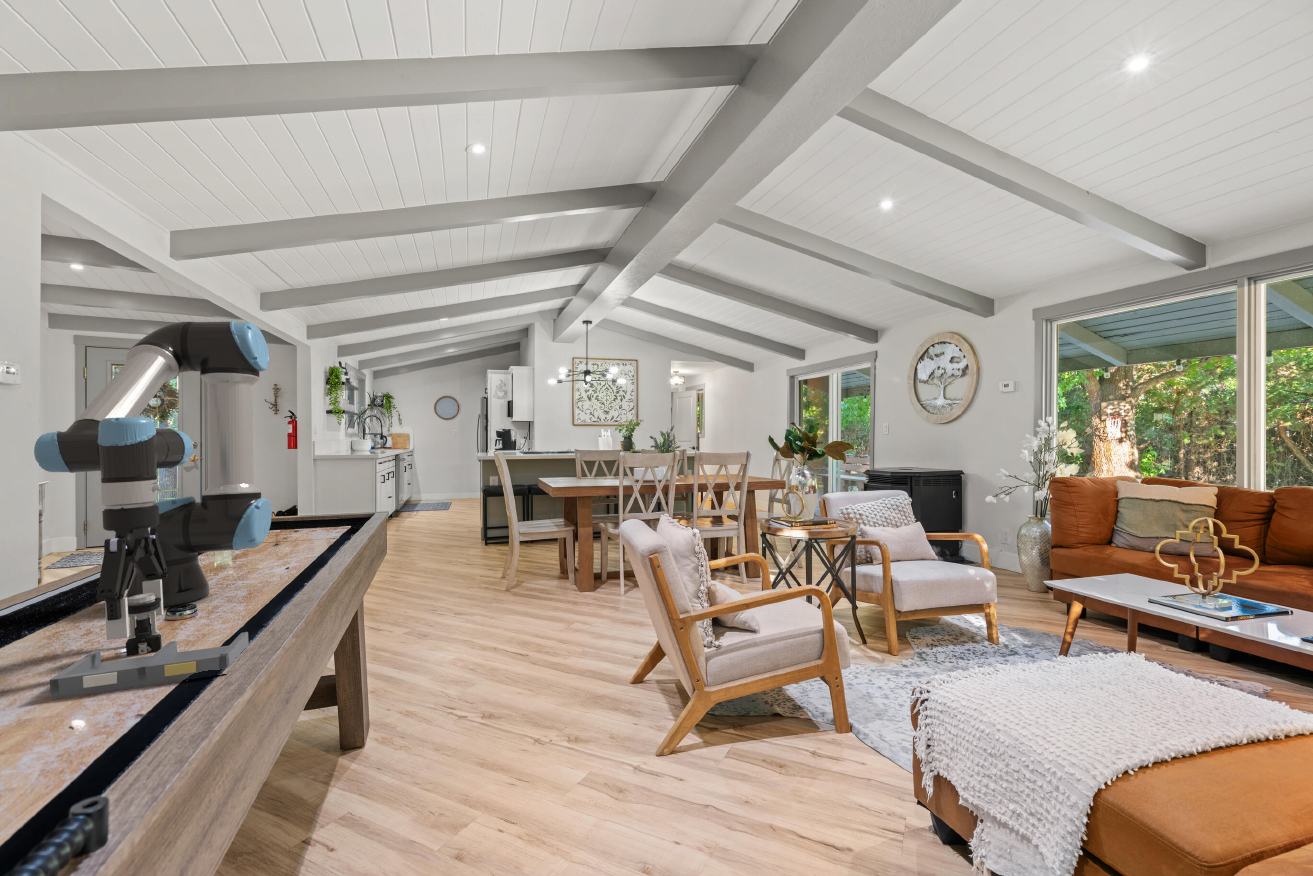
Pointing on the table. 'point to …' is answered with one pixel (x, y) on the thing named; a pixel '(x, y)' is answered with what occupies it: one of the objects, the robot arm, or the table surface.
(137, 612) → the push button
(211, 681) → the table surface
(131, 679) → the gray divided compartment tray
